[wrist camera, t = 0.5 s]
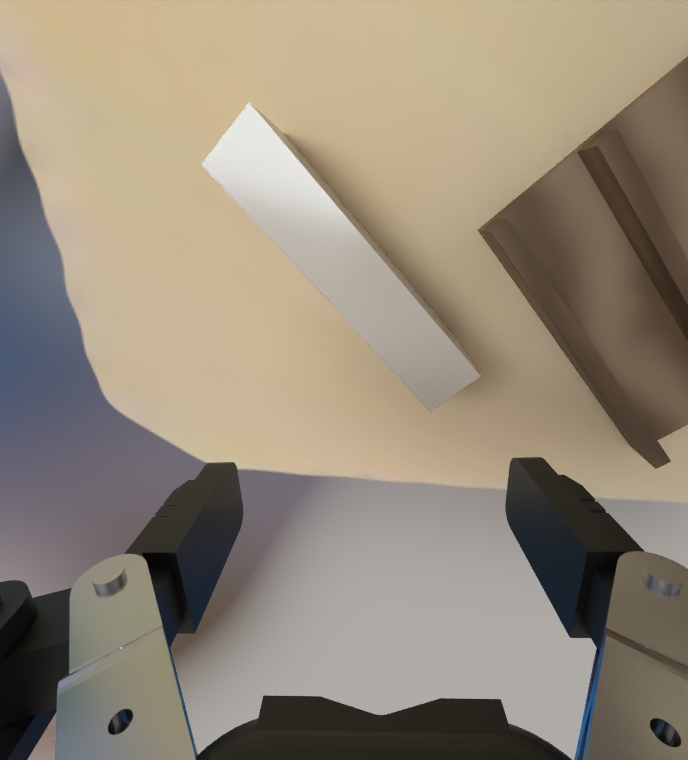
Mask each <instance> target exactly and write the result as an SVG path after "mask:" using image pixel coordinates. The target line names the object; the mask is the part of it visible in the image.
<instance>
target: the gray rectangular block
mask: <svg viewBox="0 0 688 760" xmlns="http://www.w3.org/2000/svg"><path fill="white" fill-rule="evenodd" d="M201 165H202V166H203V167H204V168H205V169H206V170H207V171H208V172H209V173H210V174H211V175H212V176H213V178H214V179H215V180H216V181H217V182H218V183H219V184H220V185H221V186H222V187H223V188H224V189H225V190H226V192H227V193H228V194H229V195H230V196H231V197H232V198H233V199H234V200H235V201H236V202H237V203H238V205H239V206H240V207H241V208H242V209H243V210H244V211H245V212H246V213H247V214H248V215H249V216H250V218H251V219H252V220H253V221H254V222H255V223H256V224H257V225H258V226H259V227H260V228H261V229H262V230H263V232H264V233H265V234H266V235H267V236H268V237H269V238H270V239H271V240H272V241H273V242H274V243H275V245H276V246H277V247H278V248H279V249H280V250H281V251H282V252H283V253H284V254H285V255H286V256H287V257H288V259H289V260H290V261H291V262H292V263H293V264H294V265H295V266H296V267H297V268H298V269H299V270H300V272H301V273H302V274H303V275H304V276H305V277H306V278H307V279H308V280H309V281H310V282H311V283H312V284H313V286H314V287H315V288H316V289H317V290H318V291H319V292H320V293H321V294H322V295H323V296H324V297H325V299H326V300H327V301H328V302H329V303H330V304H331V305H332V306H333V307H334V308H335V309H336V310H337V311H338V313H339V314H340V315H341V316H342V317H343V318H344V319H345V320H346V321H347V322H348V323H349V324H350V326H351V327H352V328H353V329H354V330H355V331H356V332H357V333H358V334H359V335H360V336H361V337H362V339H363V340H364V341H365V342H366V343H367V344H368V345H369V346H370V347H371V348H372V349H373V350H374V351H375V353H376V354H377V355H378V356H379V357H380V358H381V359H382V360H383V361H384V362H385V363H386V364H387V366H388V367H389V368H390V369H391V370H392V371H393V372H394V373H395V374H396V375H397V376H398V377H399V378H400V380H401V381H402V382H403V383H404V384H405V385H406V386H407V387H408V388H409V389H410V390H411V391H412V393H413V394H414V395H415V396H416V397H417V398H418V399H419V400H420V401H421V402H422V403H423V404H424V405H425V407H426V408H427V409H428V410H429V411H430V412H431V411H433V410H434V409H435V408H437V407H438V406H440V405H441V404H442V403H444V402H445V401H447V400H448V399H449V398H451V397H452V396H454V395H455V394H457V393H458V392H459V391H461V390H462V389H464V388H465V387H466V386H468V385H469V384H471V383H472V382H473V381H475V380H476V379H478V378H479V377H481V376H480V374H479V373H478V371H477V369H476V368H475V366H474V365H473V363H472V362H471V360H470V359H469V357H468V356H467V354H466V353H465V351H464V350H463V348H462V347H461V345H460V344H459V342H458V340H457V339H456V338H455V337H454V335H453V334H452V333H451V332H450V331H449V329H448V328H447V327H446V326H445V325H444V323H443V322H442V321H441V320H440V319H439V317H438V316H437V315H436V314H435V313H434V312H433V310H432V309H431V308H430V307H429V306H428V304H427V303H426V302H425V301H424V300H423V298H422V297H421V296H420V295H419V294H418V292H417V291H416V290H415V289H414V288H413V286H412V285H411V284H410V283H409V282H408V281H407V279H406V278H405V277H404V276H403V275H402V273H401V272H400V271H399V270H398V269H397V267H396V266H395V265H394V264H393V263H392V261H391V260H390V259H389V258H388V257H387V256H386V254H385V253H384V252H383V251H382V250H381V248H380V247H379V246H378V245H377V244H376V242H375V241H374V240H373V239H372V238H371V236H370V235H369V234H368V233H367V232H366V230H365V229H364V228H363V227H362V226H361V225H360V223H359V222H358V221H357V220H356V219H355V217H354V216H353V215H352V214H351V213H350V211H349V210H348V209H347V208H346V207H345V205H344V204H343V203H342V202H341V201H340V199H339V198H338V197H337V196H336V195H335V194H334V192H333V191H332V190H331V189H330V188H329V186H328V185H327V184H326V183H325V182H324V180H323V179H322V178H321V177H320V176H319V174H318V173H317V172H316V171H315V170H314V168H313V167H312V166H311V165H310V164H309V163H308V161H307V160H306V159H305V158H304V157H303V155H302V154H301V153H300V152H299V151H298V149H297V148H296V147H295V146H294V145H293V143H292V142H291V141H290V140H289V139H288V137H287V136H286V135H285V134H284V133H283V132H282V131H281V130H280V129H279V128H278V127H277V126H275V125H274V124H273V123H272V122H271V121H270V120H269V119H268V118H266V117H265V116H264V115H263V114H262V113H261V112H260V111H259V110H257V109H256V108H255V107H254V106H253V105H252V104H251V103H250V102H249V103H248V104H247V106H246V107H245V108H244V110H243V111H242V112H241V113H240V115H239V116H238V117H237V119H236V120H235V121H234V122H233V124H232V125H231V126H230V128H229V129H228V130H227V132H226V133H225V134H224V135H223V137H222V138H221V139H220V141H219V142H218V143H217V145H216V146H215V147H214V148H213V150H212V151H211V152H210V154H209V155H208V156H207V157H206V159H205V160H204V161H203V163H202V164H201Z"/></svg>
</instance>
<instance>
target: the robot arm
mask: <svg viewBox="0 0 688 760" xmlns="http://www.w3.org/2000/svg"><path fill="white" fill-rule="evenodd" d="M506 516H507V520H508V523H509V526H510V528H511V530H512V532H513V534H514V535H515V537H516V539H517V541H518V543H519V544H520V547H521V548H522V550H523V552H524V554H525V556H526V558H527V559H528V561H529V563H530V565H531V567H532V569H533V570H534V572H535V574H536V576H537V578H538V579H539V581H540V583H541V585H542V587H543V589H544V591H545V593H546V594H547V596H548V598H549V600H550V602H551V603H552V605H553V607H554V609H555V611H556V612H557V615H558V616H559V618H560V620H561V622H562V624H563V626H564V628H565V629H566V631H567V633H568V635H569V636H570V637H571V638H591V639H592V640H593V642H594V644H595V646H596V647H597V650H596V653H595V657H594V662H593V668H592V673H591V679H590V683H589V688H588V694H587V699H586V704H585V710H584V715H583V720H582V725H581V730H580V736H579V740H578V745H577V750H576V754H575V759H574V760H688V569H687V568H685V567H684V566H682V565H680V564H678V563H676V562H675V561H673V560H670V559H668V558H666V557H663V556H660V555H657V554H653V553H649V552H645V551H644V550H643V549H641V547H640V546H639V545H638V544H637V543H636V542H635V541H634V540H633V539H632V538H631V537H630V536H629V534H627V532H626V531H625V530H624V529H623V528H622V527H621V526H620V525H619V524H618V523H617V522H616V521H615V520H614V519H613V518H612V517H611V515H609V514H608V513H606V511H605V509H604V508H603V507H602V506H601V505H600V504H599V503H598V502H595V499H594V498H593V496H592V495H591V494H590V493H589V492H588V491H587V490H586V489H585V488H584V487H583V486H582V485H580V484H578V483H577V482H575V481H573V480H572V479H570V478H568V477H567V476H565V475H558V474H557V473H556V472H555V471H554V470H553V469H552V467H551V466H550V465H549V464H548V463H547V462H546V461H545V460H544V459H543V458H541V457H530V458H513V459H512V460H511V462H510V468H509V477H508V486H507V495H506ZM242 519H243V504H242V497H241V491H240V485H239V478H238V473H237V467H236V465H235V463H233V462H223V463H207V464H206V465H205V467H204V468H203V469H202V471H201V472H200V473H199V475H198V477H197V478H196V479H195V480H188V481H187V482H185V483H184V484H183V485H181V486H180V487H179V488H177V489H176V490H174V491H173V492H172V494H171V495H170V496H169V498H168V499H167V500H166V501H165V503H164V506H161V508H160V509H159V510H158V511H157V513H156V515H155V517H153V518H152V519H151V520H150V522H149V523H148V524H147V526H146V527H145V528H144V529H143V531H142V532H141V533H140V535H139V536H138V537H137V538H136V540H135V541H134V542H133V544H132V545H131V546H130V548H129V549H128V550H127V551H126V553H125V554H123V555H118V556H114V557H111V558H108V559H106V560H104V561H102V562H100V563H98V564H96V565H95V566H93V567H92V568H90V569H89V570H88V571H87V572H85V573H84V574H83V575H82V576H81V577H80V578H79V579H78V580H77V581H76V583H75V584H74V586H73V587H72V588H70V589H66V590H63V591H59V592H54V593H50V594H47V595H43V596H39V597H34V598H32V596H31V593H30V591H29V589H28V586H27V585H26V584H25V583H24V582H22V581H16V580H14V581H13V580H12V581H4V582H0V760H27V759H28V757H29V756H30V754H31V752H32V751H33V749H34V748H35V745H36V744H37V743H38V741H39V739H40V738H41V736H42V734H43V733H44V731H45V730H46V728H47V726H48V725H49V723H50V721H51V720H52V718H53V716H54V715H55V713H56V740H55V760H572V759H570V758H569V757H568V756H567V755H566V754H564V753H563V752H561V751H560V750H558V749H557V748H556V747H554V746H553V745H552V744H550V743H549V742H547V741H545V740H543V739H541V738H540V737H538V736H536V735H535V734H533V733H531V732H529V731H526V730H524V729H522V728H519V727H517V726H514V725H511V724H508V721H507V718H506V715H505V712H504V708H503V705H502V702H501V700H500V699H444V698H441V699H437V700H434V701H431V702H427V703H424V704H421V705H417V706H414V707H411V708H407V709H404V710H401V711H397V712H394V713H391V714H387V715H375V714H372V713H369V712H366V711H363V710H360V709H356V708H354V707H351V706H347V705H344V704H341V703H338V702H335V701H332V700H329V699H326V698H323V697H313V696H311V697H310V696H263V700H262V705H261V709H260V714H259V718H258V719H255V720H252V721H249V722H247V723H245V724H242V725H240V726H238V727H236V728H234V729H232V730H231V731H229V732H227V733H226V734H224V735H222V736H221V737H219V738H218V739H217V740H215V741H214V742H213V743H212V744H210V745H209V746H207V747H206V748H205V749H204V750H203V751H202V752H201V753H200V754H199V755H198V753H197V750H196V746H195V742H194V738H193V734H192V731H191V727H190V723H189V719H188V715H187V711H186V707H185V703H184V699H183V696H182V692H181V688H180V684H179V680H178V676H177V672H176V668H175V664H174V661H173V657H172V653H171V649H170V647H171V645H172V642H173V640H174V638H175V636H176V634H177V633H195V632H196V630H197V628H198V625H199V623H200V621H201V618H202V616H203V613H204V611H205V609H206V607H207V604H208V602H209V600H210V597H211V595H212V593H213V591H214V588H215V586H216V584H217V581H218V579H219V577H220V574H221V572H222V570H223V568H224V565H225V563H226V561H227V558H228V556H229V554H230V551H231V549H232V546H233V545H234V542H235V540H236V537H237V535H238V533H239V531H240V528H241V524H242Z"/></svg>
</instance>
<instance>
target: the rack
mask: <svg viewBox="0 0 688 760" xmlns="http://www.w3.org/2000/svg"><path fill="white" fill-rule="evenodd" d="M478 231H479V232H480V234H481V235H482V236H483V238H484V239H485V241H486V242H487V244H488V245H489V246H490V248H491V249H492V251H493V252H494V253H495V255H496V256H497V258H498V259H499V261H500V262H501V263H502V265H503V266H504V268H505V269H506V271H507V272H508V273H509V275H510V276H511V278H512V279H513V280H514V282H515V283H516V285H517V286H518V288H519V289H520V290H521V292H522V293H523V295H524V296H525V297H526V299H527V300H528V302H529V303H530V305H531V306H532V307H533V309H534V310H535V312H536V313H537V314H538V316H539V317H540V319H541V320H542V322H543V323H544V324H545V326H546V327H547V329H548V330H549V332H550V333H551V334H552V336H553V337H554V339H555V340H556V341H557V343H558V344H559V346H560V347H561V349H562V350H563V351H564V353H565V354H566V356H567V357H568V358H569V360H570V361H571V363H572V364H573V366H574V367H575V368H576V370H577V371H578V373H579V374H580V375H581V377H582V378H583V380H584V381H585V383H586V384H587V385H588V387H589V388H590V390H591V391H592V392H593V394H594V395H595V397H596V398H597V400H598V401H599V402H600V404H601V405H602V407H603V408H604V410H605V411H606V412H607V414H608V415H609V417H610V418H611V419H612V421H613V422H614V424H615V425H616V427H617V428H618V429H619V431H620V432H621V434H622V435H623V436H624V438H625V439H626V441H627V442H628V444H629V445H630V446H631V447H632V448H633V449H635V450H636V451H637V452H638V453H639V454H640V455H641V456H642V457H643V458H644V459H646V460H647V461H648V462H649V463H650V464H651V465H652V466H653V467H654V468H655V469H657V468H659V467H661V466H663V465H665V464H667V463H669V462H671V461H670V459H669V458H668V456H667V455H666V453H665V452H664V450H663V449H662V447H661V446H660V444H659V443H658V441H657V440H659V439H661V438H663V437H665V436H666V435H668V434H670V433H672V432H674V431H676V430H678V429H680V428H682V427H684V426H685V425H687V424H688V57H686V58H685V59H684V60H683V61H682V62H680V63H679V64H678V65H677V66H675V67H674V68H673V69H672V70H671V71H669V72H668V73H667V74H666V75H665V76H663V77H662V78H661V79H660V80H659V81H657V82H656V83H655V84H654V85H653V86H651V87H650V88H649V89H648V90H646V91H645V92H644V93H643V94H642V95H640V96H639V97H638V98H637V99H636V100H634V101H633V102H632V103H631V104H630V105H628V106H627V107H626V108H625V109H623V110H622V111H621V112H620V113H619V114H617V115H616V116H615V117H614V118H613V119H611V120H610V121H609V122H608V123H607V124H605V125H604V126H603V127H602V128H601V129H599V130H598V131H597V132H596V133H594V134H593V135H592V136H591V137H590V138H588V139H587V140H586V141H585V142H584V143H582V144H581V145H580V146H579V147H578V148H576V149H575V150H574V151H573V152H572V153H570V154H569V155H568V156H567V157H565V158H564V159H563V160H562V161H561V162H559V163H558V164H557V165H556V166H555V167H553V168H552V169H551V170H550V171H549V172H547V173H546V174H545V175H544V176H542V177H541V178H540V179H539V180H538V181H536V182H535V183H534V184H533V185H532V186H530V187H529V188H528V189H527V190H526V191H524V192H523V193H522V194H521V195H520V196H518V197H517V198H516V199H515V200H513V201H512V202H511V203H510V204H509V205H507V206H506V207H505V208H504V209H503V210H501V211H500V212H499V213H498V214H497V215H495V216H494V217H493V218H492V219H490V220H489V221H488V222H487V223H486V224H484V225H483V226H482V227H481V228H480V229H478Z"/></svg>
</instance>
